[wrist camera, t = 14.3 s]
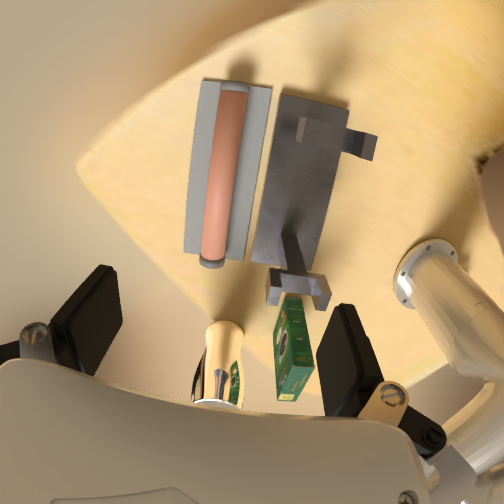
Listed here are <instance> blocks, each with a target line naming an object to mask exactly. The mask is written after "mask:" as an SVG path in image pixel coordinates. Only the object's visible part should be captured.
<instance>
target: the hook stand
mask: <svg viewBox="0 0 504 504" xmlns="http://www.w3.org/2000/svg"><path fill="white" fill-rule="evenodd" d="M348 115H349V110H346V109H342V108H339V107H335V106H331V105H327V104H324V103H319V102H315V101H311V100H307V99H302V98H297V97H293V96H287V95H282V94H280V97H279V102H278V108H277V114H276V119H275V125H274V130H273V136H272V142H271V147H270V153H269V159H268V164H267V170H266V175H265V181H264V187H263V192H262V198H261V204H260V209H259V215H258V220H257V226H256V232H255V237H254V243H253V249H252V254H251V262H256V263H263V264H270V265H277V266H280V268H281V269H276V268H269V271H268V276H267V280H266V304H267V305H273V306H278V302H279V298H280V295H281V292H289V293H297V294H305V295H311V296H312V299H313V303H314V307H315V310H318V311H326V309H327V306H328V303H329V301H330V298H331V295H332V293H331V290H330V287H329V285H328V282H327V280H326V277H325V275H320V274H312V273H307V270H311V266H312V263H313V259H314V256H315V252H316V249H317V245H318V242H319V238H320V234H321V231H322V227H323V223H324V219H325V216H326V212H327V208H328V204H329V200H330V196H331V192H332V188H333V184H334V179H335V175H336V171H337V167H338V162H339V158H340V153H341V151H343V152H347V153H350V154H353V155H355V156H357V157H359V158H362V159H366V160H370V161H372V160H373V155H374V151H375V147H376V142H377V138H378V136H375V135H372V134H368V133H365V132H360V131H355V130H351V129H348V128H346V125H347V120H348Z"/></svg>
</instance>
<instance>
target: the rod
mask: <svg viewBox="0 0 504 504" xmlns="http://www.w3.org/2000/svg"><path fill="white" fill-rule="evenodd" d="M219 90H220V95H219V101H218V108H217V114H216V121H215V128H214V135H213V142H212V150H211V158H210V166H209V174H208V182H207V191H206V201H205V210H204V221H203V231H202V242H201V252H200V257H199V263H200V264H201V265H202V266H204V267H207V268H212V269H215V268H220V267H222V266H223V265H224V261H225V247H226V239H227V231H228V224H229V216H230V209H231V202H232V195H233V188H234V181H235V174H236V167H237V160H238V154H239V147H240V141H241V134H242V128H243V122H244V116H245V109H246V103H247V97H248V94H249V91H250V84H247V83H243V82H236V81H221V83H220V89H219Z"/></svg>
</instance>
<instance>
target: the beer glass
mask: <svg viewBox="0 0 504 504" xmlns="http://www.w3.org/2000/svg"><path fill="white" fill-rule="evenodd" d="M243 337H244V335H243V331H242V329H241V328H240V327H239V326H238V325H237V324H235V323H233V322H230V321H224V320H222V321H216V322H213V323H211V324H210V325H209V326H208V327H207V329H206V347H205V351H204V353H203V355H202V358H201V360H200V362H199V364H198V367H197V369H196V372H195V375H194V380H193V384H192V392H191V402H192V403H198V404H203V405H209V406H215V407H221V408H228V409H236V410H242V406H243V399H244V374H243V368H242V362H241V356H240V348H241V344H242V341H243Z"/></svg>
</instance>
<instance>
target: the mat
mask: <svg viewBox="0 0 504 504" xmlns="http://www.w3.org/2000/svg"><path fill="white" fill-rule="evenodd" d="M220 83H221V82H212V81H201V88H200V94H199V100H198V107H197V114H196V121H195V129H194V137H193V145H192V154H191V163H190V172H189V183H188V194H187V206H186V219H185V234H184V252H185V253H191V254H198V255H200V252H201V242H202V231H203V221H204V210H205V201H206V191H207V182H208V174H209V166H210V158H211V150H212V142H213V135H214V128H215V121H216V114H217V108H218V101H219V95H220V90H219V89H220ZM271 92H272V89H268V88H262V87H255V86H250V91H249V94H248V97H247V103H246V109H245V116H244V122H243V128H242V134H241V141H240V147H239V154H238V160H237V167H236V174H235V181H234V188H233V195H232V202H231V209H230V216H229V224H228V231H227V239H226V247H225V259H232V260H239V261H243V257H244V251H245V245H246V239H247V233H248V227H249V221H250V215H251V209H252V203H253V197H254V191H255V185H256V179H257V173H258V167H259V161H260V155H261V149H262V144H263V138H264V132H265V126H266V121H267V115H268V109H269V103H270V98H271Z"/></svg>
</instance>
